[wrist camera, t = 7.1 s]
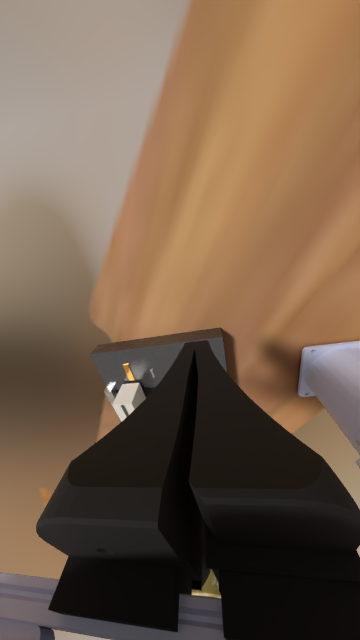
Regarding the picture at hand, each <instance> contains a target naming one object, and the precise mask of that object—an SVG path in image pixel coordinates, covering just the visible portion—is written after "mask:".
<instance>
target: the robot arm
mask: <svg viewBox="0 0 360 640" xmlns="http://www.w3.org/2000/svg"><path fill="white" fill-rule="evenodd" d="M312 350H313V351H312ZM298 395H299V396H300V397H308V396H316V397H317V398H318V400H319V401H320V402H321V404H322V405H323V406H324V408H325V409H326V410H327V412H328V413H329V414H330V416H331V417H332V418H333V420H334V421H335V422H336V424H337V425H338V426H339V428H340V429H341V430H342V432H343V433H344V434H345V436H346V437H347V438H348V440H349V441H350V442H351V444H352V445H353V446H354V448H355V449H356V450H357V452H358V453H359V454H360V341H352V342H344V343H335V344H326V345H318V346H309V347H305V348H303V350H302V357H301V366H300V375H299V384H298ZM356 463H357V465H358V466H359V468H360V459H358V460H356ZM36 531H37V534H38V535H39V537H41V538H42V539H43V540H44V541H46V542H47V543H49V544H50V545H52V546H54V547H55V548H57V549H58V550H60V551H61V552H63V553H65V554H66V555H68V556H69V557H68V559H67V562H66V565H65V567H64V570H63V572H62V575H61V577H60V579H53V578H45V577H36V576H27V575H20V574H11V573H2V572H0V640H55V636H54V631H53V630H52V629H55V630H61V631H66V632H72V633H78V634H84V635H89V636H95V637H100V638H106V639H111V640H360V557H359V555H358V553H357V551H356V550H357V548H358V547H359V545H360V510H359V508H358V506H357V504H356V503H355V501H354V500H353V498H352V497H351V495H350V494H349V492H348V491H347V489H346V488H345V487H344V485H343V484H342V482H341V481H340V480H339V478H338V477H337V475H336V474H335V473H334V472H333V470H332V469H331V468H330V466H329V465H328V464H327V462H325V460H324V459H323V457H321V456H320V455H319V454H317V453H316V452H315V451H313V450H312V449H311V448H309V447H308V446H307V445H305V444H304V443H302V442H301V441H300V440H299V439H297V438H296V437H295V436H293V435H292V434H291V433H290V432H288V431H287V430H286V429H285V428H283V427H282V426H281V425H280V424H278V423H277V422H276V421H275V420H274V419H272V418H271V417H270V416H269V415H268V414H267V413H266V412H264V411H263V410H262V409H261V408H260V407H259V406H258V405H257V404H256V403H255V402H253V401H252V400H251V399H250V398H249V397H248V396H247V395H246V394H245V393H244V392H243V391H242V390H241V389H240V387H239V386H238V385H237V384H236V383H235V382H234V381H233V380H232V378H231V377H230V376H229V375H228V374H227V372H226V371H225V370H224V368H223V367H222V366H221V364H220V363H219V361H218V360H217V358H216V356H215V355H214V353H213V351H212V349H211V347H210V344H209V341H207V340H204V341H196V342H189V343H185V344H184V345H183V347H182V349H181V351H180V352H179V354H178V356H177V358H176V359H175V361H174V362H173V364H172V366H171V367H170V369H169V370H168V372H167V373H166V374H165V376H164V377H163V378H162V380H161V381H160V382H159V384H158V385H157V386H156V387H155V389H154V390H153V391H152V392H151V393H150V394H149V396H148V397H147V398H146V399H145V400H144V401H143V402H142V403H141V404H140V405H139V406H138V407H137V408H136V409H135V410H134V411H133V412H132V413H131V414H130V415H129V416H128V417H126V418H125V419H124V420H123V421H122V422H121V423H120V424H119V425H117V426H116V427H115V428H114V429H113V430H112V431H110V432H109V433H108V434H107V435H105V436H104V437H103V438H102V439H100V440H99V441H98V442H97V443H95V444H94V445H93V446H91V447H90V448H89V449H87V450H86V451H85V452H84V453H82V454H81V455H79V456H78V457H77V458H75V459H74V460H73V461H71V463H70V465H69V466H68V468H67V470H66V472H65V473H64V475H63V477H62V479H61V480H60V482H59V484H58V486H57V488H56V489H55V491H54V493H53V495H52V497H51V498H50V500H49V502H48V504H47V506H46V507H45V509H44V511H43V513H42V515H41V517H40V518H39V520H38V522H37V525H36ZM210 569H212V571H213V573H214V575H215V577H216V579H217V581H218V584H219V592H220V594H221V598H213V597H205V596H197V595H192V590H200V591H202V587H203V585H204V584H205V582H206V580H207V578H208V576H209V574H210Z"/></svg>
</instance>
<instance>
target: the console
mask: <svg viewBox="0 0 360 640" xmlns="http://www.w3.org/2000/svg"><path fill="white" fill-rule="evenodd" d="M204 340H207V341H209V344H210V347H211V349H212V351H213V353H214V355H215V356H216V358H217V360H218V361H219V363H220V364H221V366H222V367H223V368H224V370H225V371H226V372H227V368H226V360H225V352H224V344H223V336H222V333H221V329H220V328H214V329H207V330H200V331H193V332H186V333H179V334H172V335H165V336H158V337H151V338H144V339H137V340H130V341H123V342H116V343H109V344H103V345H98V346H97V347H96V348H95V349H94V350H93V351H92V352H91V353H90V356H91V358H92V360H93V362H94V364H95V366H96V368H97V369H98V371H99V373H100V375H101V377H102V379H103V380H104V382H105V384H106V386H107V388H106V389H105V391H104V392H105V394H106V396H107V398H108V400H109V401H110V403H111V405H112V404H113V402H114V400H115V398H116V396H117V394H118V392H119V390H120V388H121V386H122V384H130V383H140V385H141V387H142V390H143V392H144V395H145V397H146V398H147V397H148V396H149V394H150V393H151V392H152V391H153V390H154V389H155V387H156V386H157V385H158V384H159V382H160V381H161V380H162V378H163V377H164V376H165V374H166V373H167V372H168V370H169V369H170V367H171V366H172V364H173V362H174V361H175V359H176V358H177V356H178V354H179V352H180V351H181V349H182V347H183V345H184V344H185V343H189V342H196V341H204ZM112 407H113V405H112Z"/></svg>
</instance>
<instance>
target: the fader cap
mask: <svg viewBox="0 0 360 640" xmlns="http://www.w3.org/2000/svg"><path fill="white" fill-rule="evenodd" d="M145 399H146V397H145V395H144V392H143V390H142V387H141V385H140V383H130V384H122V386H121V388H120V390H119V392H118V394H117V396H116V398H115V400H114V402H113V404H112V405H113V407H114V409H115V411H116V413H117V414H118V416H119V418H120V420H121V422H122V421H123V420H124V419H125V418H126V417H128V416H129V415H130V414H131V413H132V412H133V411H134V410H135V409H136V408H137V407H138V406H139V405H140V404H141V403H142V402H143V401H144V400H145Z"/></svg>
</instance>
